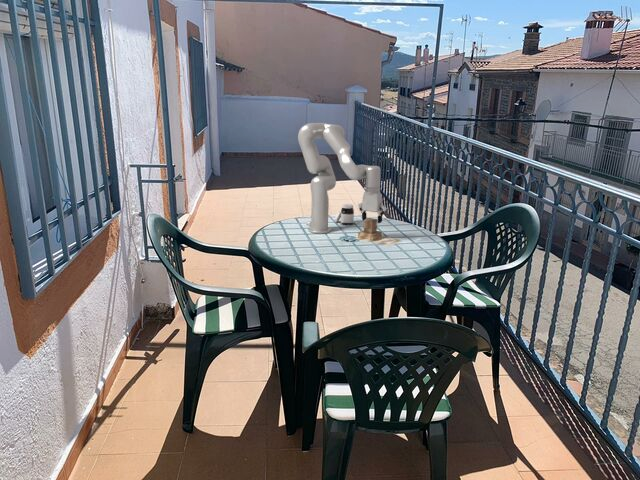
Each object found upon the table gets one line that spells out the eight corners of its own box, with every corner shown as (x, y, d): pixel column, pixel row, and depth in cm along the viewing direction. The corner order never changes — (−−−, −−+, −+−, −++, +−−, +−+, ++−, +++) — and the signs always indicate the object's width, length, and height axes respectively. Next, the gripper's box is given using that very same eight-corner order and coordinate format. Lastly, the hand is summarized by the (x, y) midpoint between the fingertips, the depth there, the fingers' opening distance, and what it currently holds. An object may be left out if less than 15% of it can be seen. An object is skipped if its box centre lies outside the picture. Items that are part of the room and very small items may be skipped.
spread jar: (354, 226, 299) (355, 206, 296) (335, 225, 299) (335, 206, 296) (352, 221, 311) (352, 202, 308) (333, 221, 310) (334, 202, 307)
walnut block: (363, 237, 272) (364, 219, 269) (368, 235, 276) (369, 217, 273) (371, 239, 269) (372, 221, 266) (376, 237, 273) (377, 219, 270)
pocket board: (353, 239, 270) (354, 232, 269) (368, 234, 281) (368, 227, 280) (389, 247, 257) (390, 240, 256) (403, 242, 268) (403, 235, 267)
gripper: (355, 189, 267) (354, 220, 272) (383, 192, 257) (382, 225, 261) (362, 187, 273) (362, 218, 277) (390, 190, 263) (389, 222, 267)
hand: (371, 221), depth 269 cm, fingers open, 9 cm apart
